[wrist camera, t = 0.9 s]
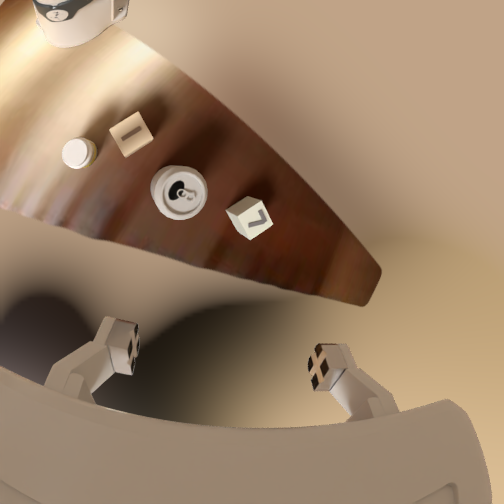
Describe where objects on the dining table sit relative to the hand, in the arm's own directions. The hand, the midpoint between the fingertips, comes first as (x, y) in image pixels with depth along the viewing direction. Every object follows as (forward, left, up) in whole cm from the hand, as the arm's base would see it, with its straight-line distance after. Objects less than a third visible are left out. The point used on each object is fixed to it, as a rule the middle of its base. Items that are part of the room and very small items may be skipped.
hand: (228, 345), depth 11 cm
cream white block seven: (0, +17, -38) cm, 42 cm away
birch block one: (-12, -5, -38) cm, 40 cm away
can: (-4, +3, -38) cm, 39 cm away
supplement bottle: (-9, -13, -38) cm, 42 cm away
